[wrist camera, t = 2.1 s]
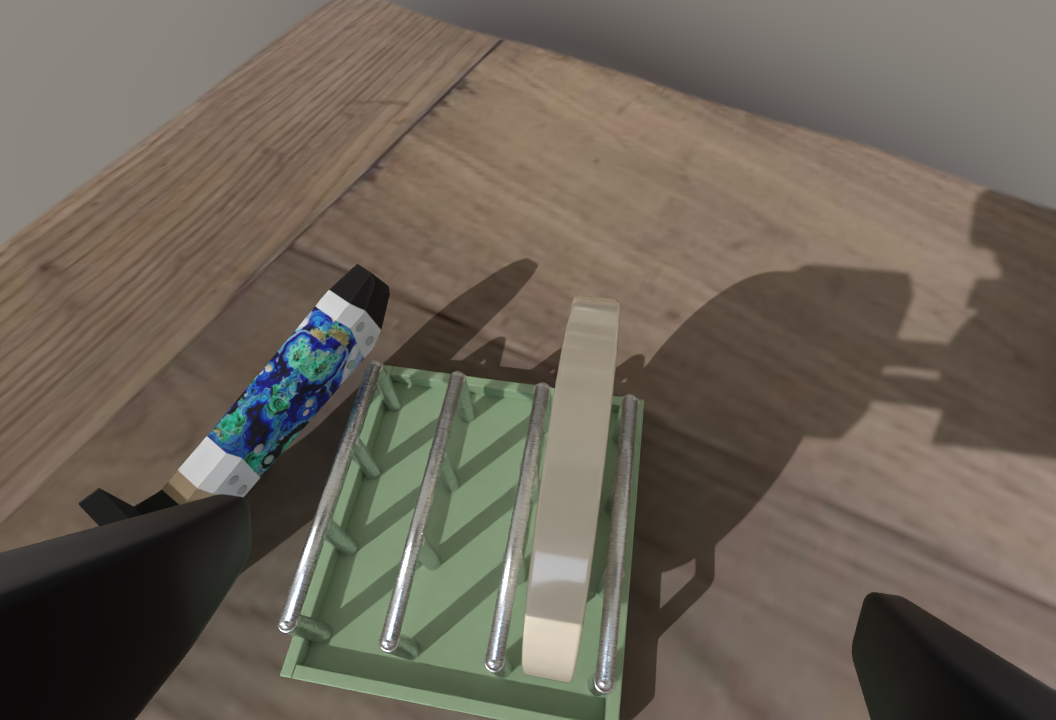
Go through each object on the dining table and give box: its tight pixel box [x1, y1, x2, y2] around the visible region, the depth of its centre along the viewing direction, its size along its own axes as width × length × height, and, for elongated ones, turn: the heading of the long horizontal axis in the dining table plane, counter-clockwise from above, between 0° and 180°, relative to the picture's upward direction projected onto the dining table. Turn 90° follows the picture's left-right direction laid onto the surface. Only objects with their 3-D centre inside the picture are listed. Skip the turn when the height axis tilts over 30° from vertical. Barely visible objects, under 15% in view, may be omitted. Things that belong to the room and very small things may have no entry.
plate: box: [522, 295, 620, 684], centre depth 17 cm, size 10×1×10 cm, turn 170°
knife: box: [78, 264, 390, 526], centre depth 18 cm, size 31×3×4 cm, turn 140°
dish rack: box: [278, 360, 644, 720], centre depth 20 cm, size 11×10×4 cm
